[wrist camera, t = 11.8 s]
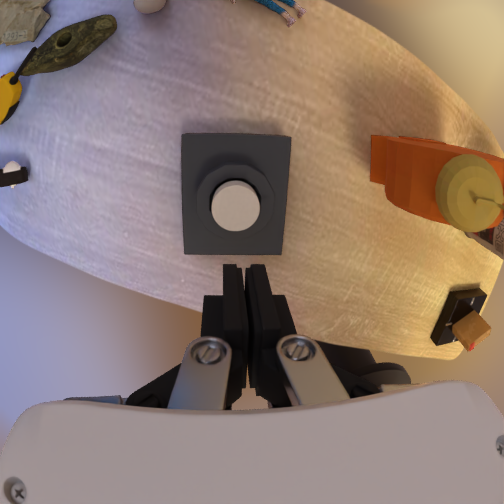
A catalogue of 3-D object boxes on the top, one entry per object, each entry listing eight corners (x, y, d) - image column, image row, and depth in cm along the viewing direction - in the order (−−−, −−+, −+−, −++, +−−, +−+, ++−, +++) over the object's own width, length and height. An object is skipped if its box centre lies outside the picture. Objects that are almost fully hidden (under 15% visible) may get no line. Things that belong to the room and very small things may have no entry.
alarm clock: (357, 186, 30) (485, 273, 12) (358, 132, 28) (506, 169, 10) (442, 186, 31) (560, 252, 13) (445, 141, 28) (574, 184, 10)
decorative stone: (109, 5, 19) (96, -6, 15) (125, 31, 21) (112, 21, 17) (31, 72, 20) (12, 70, 17) (44, 99, 22) (24, 99, 19)
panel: (461, 330, 44) (468, 338, 42) (428, 337, 43) (435, 347, 41) (480, 287, 40) (489, 295, 37) (448, 291, 39) (457, 300, 36)
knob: (474, 309, 38) (492, 328, 33) (473, 316, 39) (490, 335, 34) (452, 325, 39) (469, 346, 34) (452, 332, 40) (468, 352, 35)
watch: (-6, 161, 24) (0, 184, 26) (-27, 178, 20) (-19, 203, 23) (33, 156, 25) (38, 182, 27) (11, 174, 21) (18, 202, 24)
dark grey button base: (277, 243, 33) (285, 264, 28) (187, 242, 32) (181, 263, 27) (285, 135, 27) (296, 138, 23) (186, 133, 27) (177, 135, 22)
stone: (59, -22, 13) (26, 54, 18) (70, -17, 16) (39, 54, 20) (-12, -13, 9) (-37, 52, 13) (-1, -11, 11) (-25, 51, 16)
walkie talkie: (7, 126, 23) (54, 60, 16) (-3, 135, 22) (40, 68, 15) (-9, 101, 20) (35, 27, 13) (-20, 109, 19) (20, 34, 12)
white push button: (256, 223, 26) (258, 231, 25) (212, 223, 26) (211, 231, 24) (258, 180, 25) (261, 185, 23) (212, 180, 24) (211, 184, 23)
